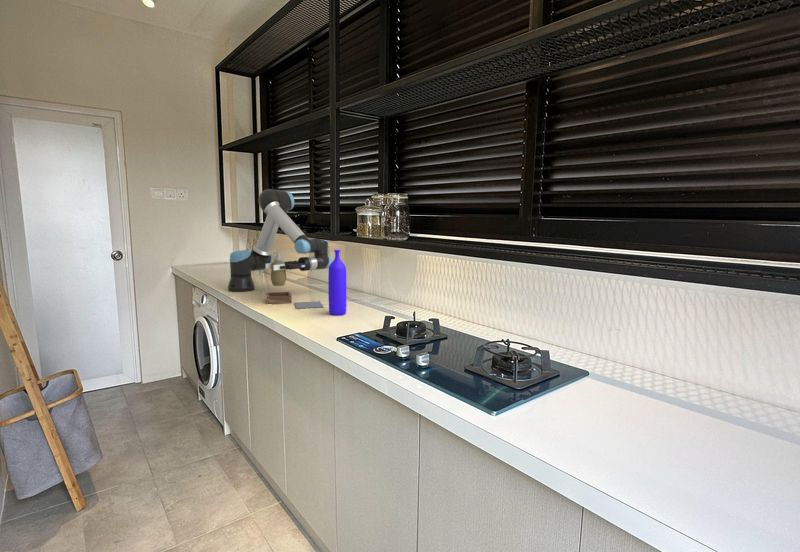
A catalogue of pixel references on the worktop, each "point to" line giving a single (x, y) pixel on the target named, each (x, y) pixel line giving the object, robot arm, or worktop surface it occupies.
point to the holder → (279, 298)
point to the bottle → (337, 286)
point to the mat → (308, 305)
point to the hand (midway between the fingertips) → (269, 267)
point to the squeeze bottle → (278, 272)
